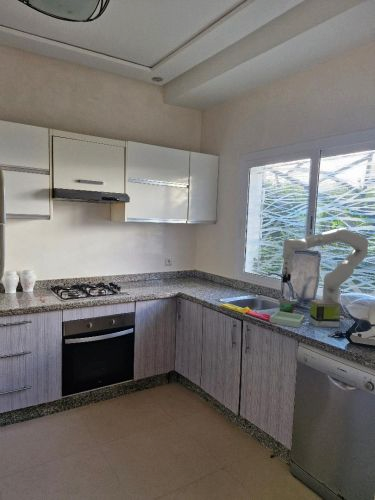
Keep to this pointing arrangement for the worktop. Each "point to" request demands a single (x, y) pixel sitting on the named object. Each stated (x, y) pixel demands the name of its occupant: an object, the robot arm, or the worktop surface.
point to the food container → (286, 305)
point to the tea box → (325, 313)
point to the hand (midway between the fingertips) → (286, 281)
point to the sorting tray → (287, 319)
